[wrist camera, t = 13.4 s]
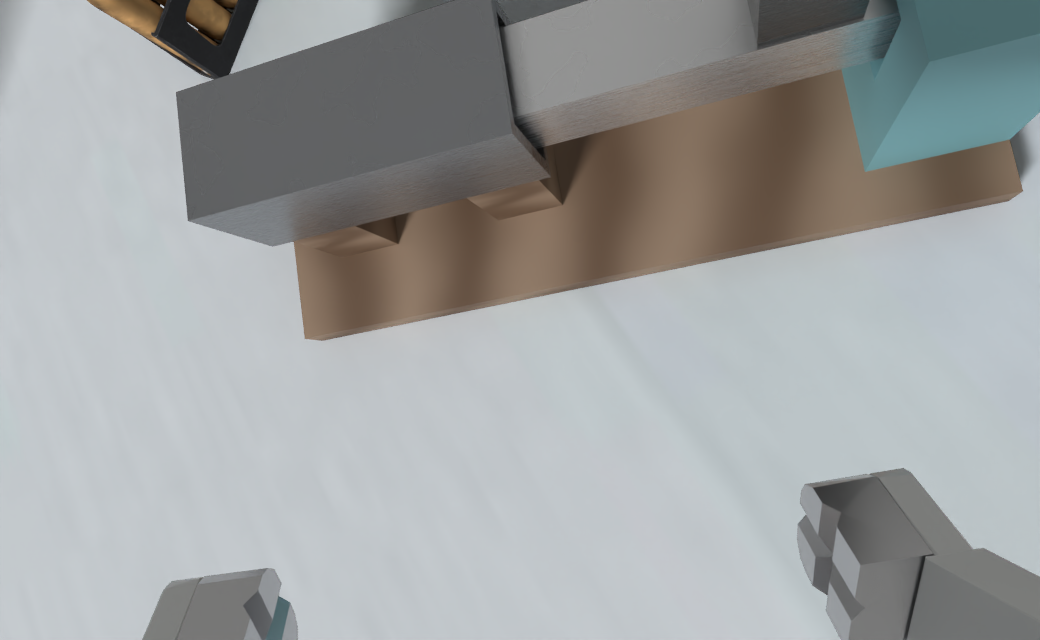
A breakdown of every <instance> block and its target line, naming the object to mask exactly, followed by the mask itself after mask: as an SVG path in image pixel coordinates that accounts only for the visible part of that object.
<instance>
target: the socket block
mask: <svg viewBox="0 0 1040 640" xmlns="http://www.w3.org/2000/svg"><path fill="white" fill-rule="evenodd" d="M896 1H897V5H898V9H899V13H900V17H901V22H900V24H899V26H898V29H897V31H896V33H895V35H894V38H893V40H892V42H891V44H890V47H889V49H888V51H887V53H886V56H885V58H881V59H878V60H874V61H870V62H866V63H862V64H859V65H855V66H851V67H847V68H843V69H841V70H842V74H843V78H844V83H845V87H846V91H847V96H848V100H849V104H850V109H851V113H852V118H853V122H854V126H855V131H856V135H857V139H858V144H859V148H860V152H861V157H862V161H863V166H864V170H865V172H867V171H871V170H876V169H880V168H885V167H889V166H894V165H898V164H903V163H907V162H911V161H916V160H920V159H925V158H929V157H934V156H938V155H943V154H947V153H952V152H956V151H961V150H965V149H970V148H974V147H979V146H983V145H987V144H992V143H996V142H1001V141H1005V140H1010V139H1011V138H1012V137H1013V136H1014V135H1015V134H1016V133H1017V132H1018V131H1020V130H1021V129H1022V128H1023V127H1024V126H1025V125H1026V124H1027V123H1028V122H1029V121H1030V120H1032V119H1033V118H1034V117H1035V116H1036V115H1037V114H1038V113H1039V112H1040V0H896Z"/></svg>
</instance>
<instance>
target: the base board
mask: <svg viewBox="0 0 1040 640" xmlns="http://www.w3.org/2000/svg"><path fill="white" fill-rule="evenodd" d="M546 149H547V155H548V161H549V167H550V173H551V177H550V178H546V179H542V180H538V181H534V182H530V183H526V184H522V185H518V186H514V187H510V188H506V189H502V190H498V191H494V192H489V193H485V194H481V195H477V196H473V197H469V198H465V199H461V200H457V201H453V202H449V203H445V204H441V205H437V206H433V207H429V208H425V209H421V210H417V211H413V212H409V213H405V214H401V215H397V216H393V217H389V218H385V219H381V220H377V221H373V222H369V223H365V224H361V225H357V226H353V227H349V228H345V229H341V230H337V231H333V232H329V233H325V234H321V235H317V236H313V237H309V238H305V239H301V240H297V241H293V242H294V247H295V256H296V264H297V273H298V282H299V291H300V300H301V308H302V317H303V326H304V335H305V339H312V340H321V341H323V340H328V339H333V338H337V337H342V336H347V335H352V334H357V333H362V332H367V331H372V330H377V329H382V328H387V327H392V326H396V325H401V324H406V323H411V322H416V321H421V320H426V319H431V318H436V317H441V316H446V315H450V314H455V313H460V312H465V311H470V310H475V309H480V308H485V307H490V306H495V305H500V304H505V303H509V302H514V301H519V300H524V299H529V298H534V297H539V296H544V295H549V294H554V293H559V292H564V291H568V290H573V289H578V288H583V287H588V286H593V285H598V284H603V283H608V282H613V281H618V280H623V279H627V278H632V277H637V276H642V275H647V274H652V273H657V272H662V271H667V270H672V269H677V268H682V267H686V266H691V265H696V264H701V263H706V262H711V261H716V260H721V259H726V258H731V257H736V256H741V255H745V254H750V253H755V252H760V251H765V250H770V249H775V248H780V247H785V246H790V245H795V244H800V243H804V242H809V241H814V240H819V239H824V238H829V237H834V236H839V235H844V234H849V233H854V232H859V231H863V230H868V229H873V228H878V227H883V226H888V225H893V224H898V223H903V222H908V221H913V220H918V219H922V218H927V217H932V216H937V215H942V214H947V213H952V212H957V211H962V210H967V209H972V208H976V207H981V206H986V205H991V204H996V203H1001V202H1006V201H1009V200H1011V199H1012V198H1014V197H1015V196H1016V195H1018V194H1019V193H1021V192H1022V191H1023V189H1022V185H1021V181H1020V178H1019V174H1018V170H1017V166H1016V162H1015V158H1014V155H1013V151H1012V147H1011V143H1010V140H1005V141H1001V142H996V143H992V144H987V145H983V146H979V147H974V148H970V149H965V150H961V151H956V152H952V153H947V154H943V155H938V156H934V157H929V158H925V159H920V160H916V161H911V162H907V163H903V164H898V165H894V166H889V167H885V168H880V169H876V170H871V171H867V172H865V170H864V166H863V161H862V157H861V152H860V148H859V144H858V139H857V135H856V131H855V126H854V122H853V118H852V113H851V109H850V104H849V100H848V96H847V91H846V87H845V83H844V78H843V74H842V70H841V69H839V70H836V71H832V72H828V73H824V74H820V75H816V76H813V77H809V78H805V79H801V80H797V81H794V82H790V83H786V84H782V85H778V86H774V87H771V88H767V89H763V90H759V91H755V92H751V93H748V94H744V95H740V96H736V97H732V98H729V99H725V100H721V101H717V102H713V103H709V104H706V105H702V106H698V107H694V108H690V109H686V110H683V111H679V112H675V113H671V114H667V115H664V116H660V117H656V118H652V119H648V120H644V121H641V122H637V123H633V124H629V125H625V126H622V127H618V128H614V129H610V130H606V131H602V132H599V133H595V134H591V135H587V136H583V137H579V138H576V139H572V140H568V141H564V142H560V143H557V144H553V145H549V146H546Z"/></svg>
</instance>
